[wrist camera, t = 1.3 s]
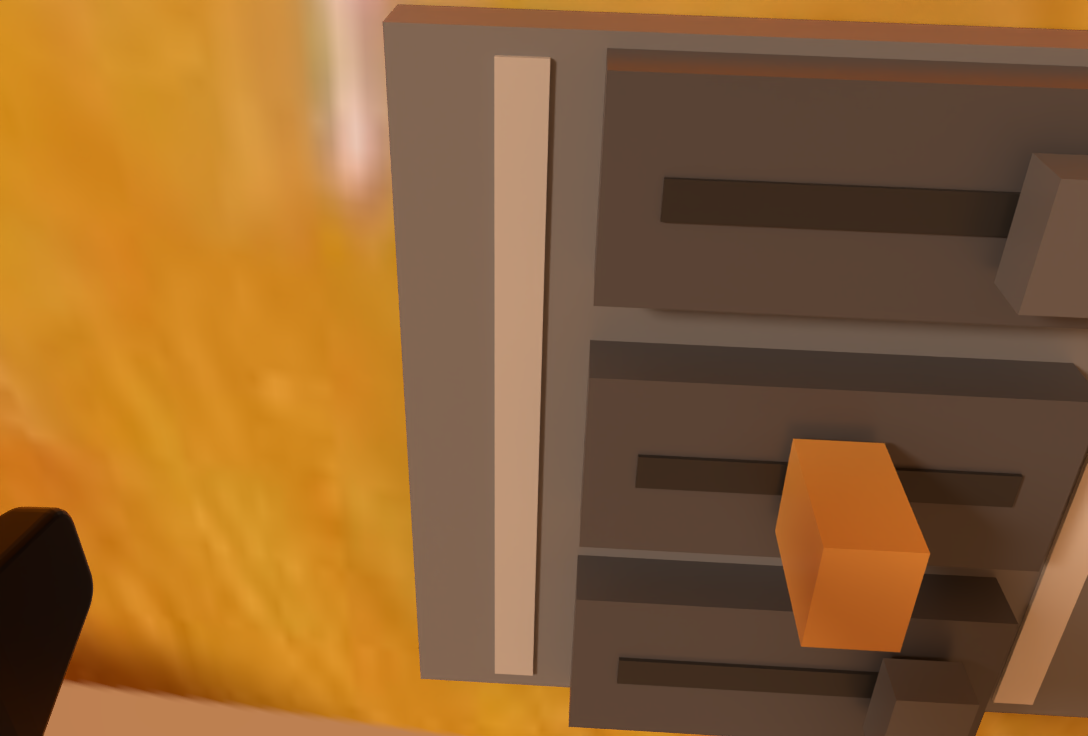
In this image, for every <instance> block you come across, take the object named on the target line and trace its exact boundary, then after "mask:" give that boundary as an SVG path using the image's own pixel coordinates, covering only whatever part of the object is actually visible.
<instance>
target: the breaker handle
mask: <svg viewBox="0 0 1088 736" xmlns="http://www.w3.org/2000/svg"><path fill="white" fill-rule="evenodd" d="M775 533H776V538H777V542H778V546H779V551H780V555H781V560H782V564H783V569H784V573H785V578H786V582H787V587H788V591H789V595H790V600H791V604H792V609H793V613H794V618H795V622H796V627H797V631H798V636H799V640H800V644H801V647H816V648H833V649H851V650H868V651H886V652H900V651H901V647H902V644H903V641H904V638H905V634H906V631H907V628H908V625H909V621H910V618H911V615H912V612H913V608H914V605H915V602H916V598H917V595H918V592H919V589H920V585H921V582H922V579H923V576H924V572H925V569H926V566H927V563H928V559H929V556H930V552H929V549H928V547H927V544H926V542H925V540H924V537H923V535H922V532H921V530H920V528H919V525H918V523H917V520H916V518H915V515H914V513H913V511H912V508H911V506H910V503H909V501H908V499H907V496H906V494H905V491H904V489H903V487H902V484H901V482H900V479H899V477H898V475H897V472H896V470H895V467H894V465H893V462H892V460H891V458H890V455H889V453H888V450H887V448H886V446H885V443H870V442H851V441H831V440H811V439H793V441H792V446H791V452H790V457H789V462H788V467H787V472H786V477H785V482H784V488H783V493H782V498H781V503H780V508H779V513H778V518H777V524H776V529H775Z"/></svg>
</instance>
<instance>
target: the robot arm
mask: <svg viewBox="0 0 1088 736" xmlns="http://www.w3.org/2000/svg"><path fill="white" fill-rule="evenodd" d="M92 595H93V580H92V575H91V572H90V569H89V566H88V563H87V560H86V557H85V554H84V551H83V548H82V546H81V543H80V540H79V537H78V534H77V531H76V528H75V525H74V522H73V520H72V518H71V516H70V515H69V514H68V513H67V512H66V511H65V510H62V509H59V508H50V507H18V508H14V509H12V510H10V511H8V512H6V513H4V514H2V515H1V516H0V736H43V735H44V732H45V729H46V727H47V724H48V721H49V718H50V716H51V712H52V710H53V707H54V705H55V702H56V699H57V696H58V693H59V690H60V688H61V685H62V682H63V680H64V677H65V674H66V671H67V669H68V666H69V663H70V660H71V658H72V655H73V652H74V649H75V647H76V644H77V641H78V638H79V636H80V633H81V630H82V627H83V625H84V622H85V619H86V616H87V613H88V611H89V608H90V605H91V601H92Z"/></svg>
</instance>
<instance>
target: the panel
mask: <svg viewBox="0 0 1088 736" xmlns="http://www.w3.org/2000/svg"><path fill="white" fill-rule="evenodd" d="M383 35H384V52H385V69H386V86H387V103H388V121H389V138H390V155H391V172H392V189H393V207H394V224H395V241H396V258H397V275H398V293H399V310H400V327H401V344H402V361H403V379H404V396H405V413H406V430H407V447H408V465H409V482H410V499H411V516H412V533H413V551H414V568H415V585H416V602H417V619H418V637H419V654H420V671H421V679H437V680H454V681H471V682H488V683H505V684H523V685H540V686H557V687H570V705H569V727H584V728H600V729H617V730H634V731H651V732H667V733H684V734H701V735H718V736H975V735H976V733H977V730H978V727H979V725H980V722H981V720H982V717H983V715H984V712H1002V713H1019V714H1036V715H1053V716H1070V717H1087V718H1088V30H1062V29H1035V28H1009V27H982V26H956V25H929V24H903V23H876V22H850V21H823V20H796V19H770V18H743V17H717V16H690V15H664V14H637V13H611V12H584V11H557V10H531V9H504V8H478V7H451V6H425V5H397V6H396V7H395V8H394V9H393V11H392V12H391V13H390V14H389V15H388V16H387V18H386V19H385V20H384V21H383ZM793 439H811V440H831V441H851V442H870V443H885V446H886V448H887V450H888V453H889V455H890V458H891V460H892V462H893V465H894V467H895V470H896V472H897V475H898V477H899V479H900V482H901V484H902V487H903V489H904V491H905V494H906V496H907V499H908V501H909V503H910V506H911V508H912V511H913V513H914V515H915V518H916V520H917V523H918V525H919V528H920V530H921V532H922V535H923V537H924V540H925V542H926V544H927V547H928V549H929V552H930V556H929V559H928V563H927V566H926V569H925V572H924V576H923V579H922V582H921V585H920V589H919V592H918V595H917V598H916V602H915V605H914V608H913V612H912V615H911V618H910V621H909V625H908V628H907V631H906V634H905V638H904V641H903V644H902V647H901V651H900V652H886V651H868V650H851V649H833V648H816V647H801V644H800V640H799V636H798V631H797V627H796V622H795V618H794V613H793V609H792V604H791V600H790V595H789V591H788V587H787V582H786V578H785V573H784V569H783V564H782V560H781V555H780V551H779V546H778V542H777V538H776V533H775V529H776V524H777V518H778V513H779V508H780V503H781V498H782V493H783V488H784V482H785V477H786V472H787V467H788V462H789V457H790V452H791V446H792V441H793Z"/></svg>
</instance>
